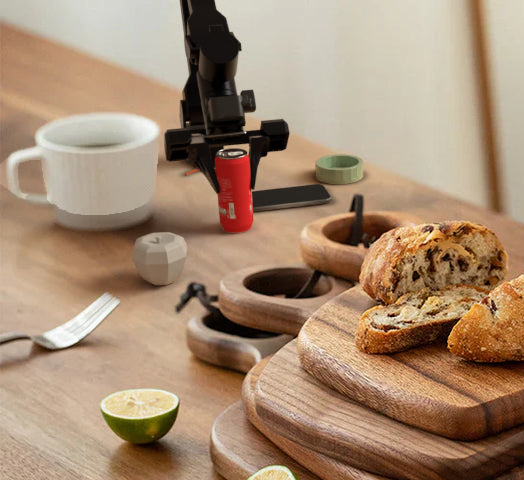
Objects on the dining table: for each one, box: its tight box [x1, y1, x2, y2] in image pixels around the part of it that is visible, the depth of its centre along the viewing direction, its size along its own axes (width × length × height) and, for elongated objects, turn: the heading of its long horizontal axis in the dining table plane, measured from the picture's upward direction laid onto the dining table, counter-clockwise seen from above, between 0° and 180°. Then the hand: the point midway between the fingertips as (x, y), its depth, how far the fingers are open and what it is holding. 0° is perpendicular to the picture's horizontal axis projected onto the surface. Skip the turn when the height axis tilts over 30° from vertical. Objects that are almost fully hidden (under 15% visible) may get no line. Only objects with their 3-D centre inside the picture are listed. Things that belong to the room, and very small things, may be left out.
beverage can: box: [214, 147, 255, 234], centre depth 164 cm, size 5×5×12 cm
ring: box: [314, 153, 364, 185], centre depth 186 cm, size 8×8×3 cm
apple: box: [131, 231, 188, 286], centre depth 148 cm, size 8×8×7 cm
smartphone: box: [252, 183, 333, 213], centre depth 176 cm, size 8×1×15 cm
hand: (235, 190), depth 162 cm, fingers closed on beverage can, 5 cm apart
